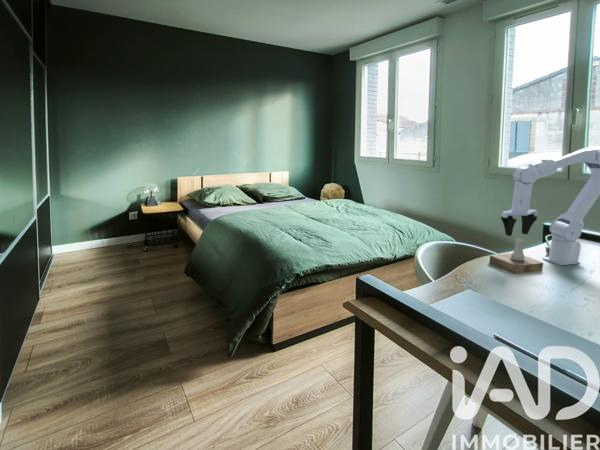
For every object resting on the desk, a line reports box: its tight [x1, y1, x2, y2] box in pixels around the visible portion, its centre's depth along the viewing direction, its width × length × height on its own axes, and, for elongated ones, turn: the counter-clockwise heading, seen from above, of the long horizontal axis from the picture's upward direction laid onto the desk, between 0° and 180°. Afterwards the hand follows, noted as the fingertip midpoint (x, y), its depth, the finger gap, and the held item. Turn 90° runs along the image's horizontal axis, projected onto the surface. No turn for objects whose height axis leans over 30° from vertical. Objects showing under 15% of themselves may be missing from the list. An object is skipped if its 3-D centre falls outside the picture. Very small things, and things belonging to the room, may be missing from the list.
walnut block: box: [489, 252, 544, 275], centre depth 135 cm, size 12×12×3 cm
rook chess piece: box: [511, 237, 526, 261], centre depth 133 cm, size 4×4×8 cm
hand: (516, 234), depth 140 cm, fingers open, 7 cm apart
